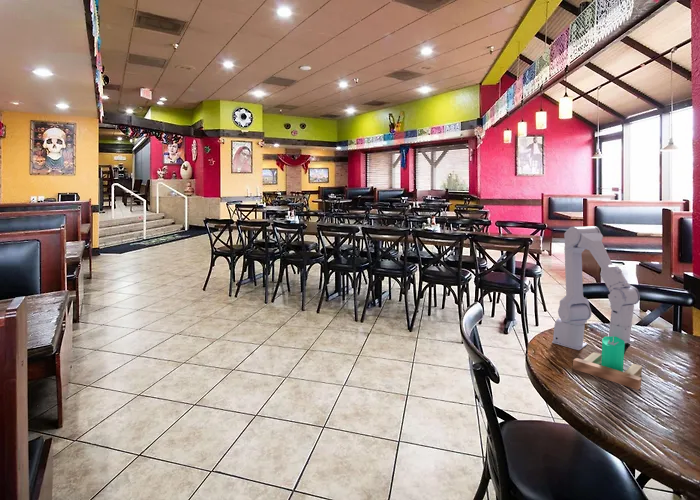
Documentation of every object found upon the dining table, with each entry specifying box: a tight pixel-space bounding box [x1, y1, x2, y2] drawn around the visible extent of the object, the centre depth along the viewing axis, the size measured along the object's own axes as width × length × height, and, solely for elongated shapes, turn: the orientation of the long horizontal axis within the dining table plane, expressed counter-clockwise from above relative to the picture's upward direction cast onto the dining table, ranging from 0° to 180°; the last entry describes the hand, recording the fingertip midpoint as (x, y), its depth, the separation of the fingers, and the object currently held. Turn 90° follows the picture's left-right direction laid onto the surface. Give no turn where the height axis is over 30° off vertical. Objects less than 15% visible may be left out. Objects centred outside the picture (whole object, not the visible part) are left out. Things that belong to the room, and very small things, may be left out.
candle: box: [600, 336, 625, 372], centre depth 128 cm, size 6×6×12 cm
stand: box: [572, 351, 643, 391], centre depth 129 cm, size 18×11×3 cm, turn 41°
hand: (616, 363), depth 132 cm, fingers closed
